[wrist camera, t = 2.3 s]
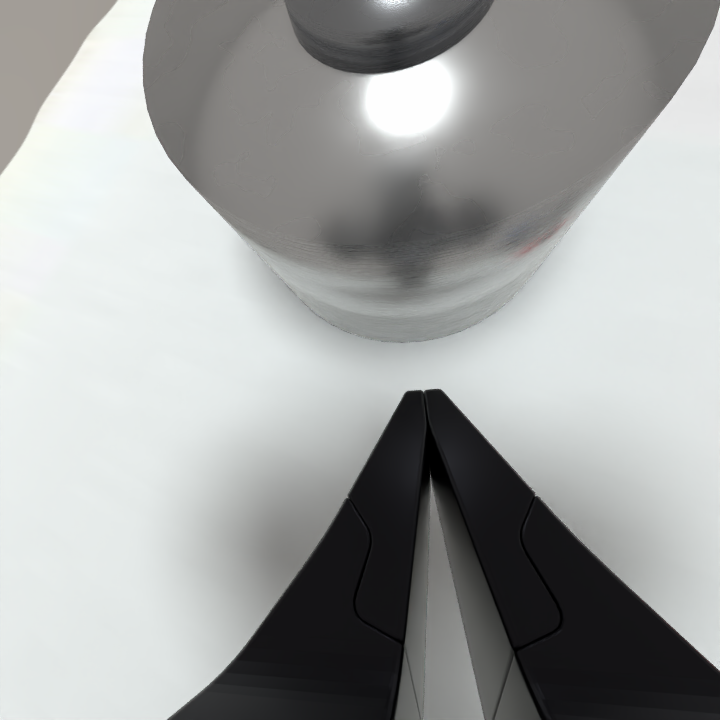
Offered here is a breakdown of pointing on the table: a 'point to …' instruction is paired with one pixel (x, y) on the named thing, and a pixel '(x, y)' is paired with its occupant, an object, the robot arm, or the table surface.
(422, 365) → the table surface
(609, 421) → the table surface
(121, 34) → the table surface
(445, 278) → the cylinder
